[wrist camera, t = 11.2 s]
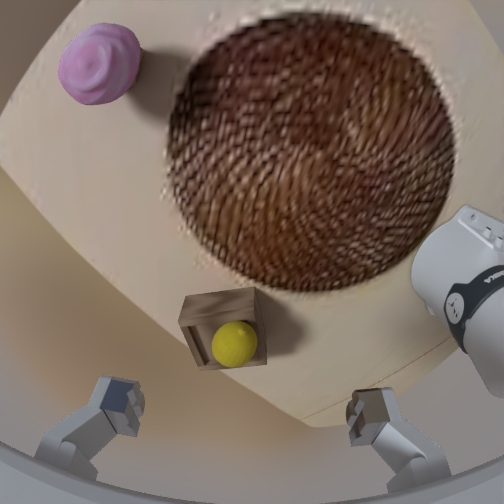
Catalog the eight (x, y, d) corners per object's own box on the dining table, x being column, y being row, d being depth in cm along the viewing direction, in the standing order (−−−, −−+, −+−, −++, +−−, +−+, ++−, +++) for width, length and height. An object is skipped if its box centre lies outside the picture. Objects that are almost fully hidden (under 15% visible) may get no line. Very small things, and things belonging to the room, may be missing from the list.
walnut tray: (254, 284, 44) (253, 312, 39) (266, 336, 48) (266, 364, 43) (186, 294, 45) (177, 321, 40) (205, 343, 50) (200, 370, 44)
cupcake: (151, 104, 32) (115, 110, 23) (88, 100, 31) (40, 107, 23) (165, 32, 28) (132, 14, 19) (99, 33, 27) (54, 21, 18)
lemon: (251, 368, 42) (274, 343, 36) (216, 380, 39) (233, 357, 33) (234, 335, 44) (253, 305, 39) (199, 345, 41) (213, 315, 36)
